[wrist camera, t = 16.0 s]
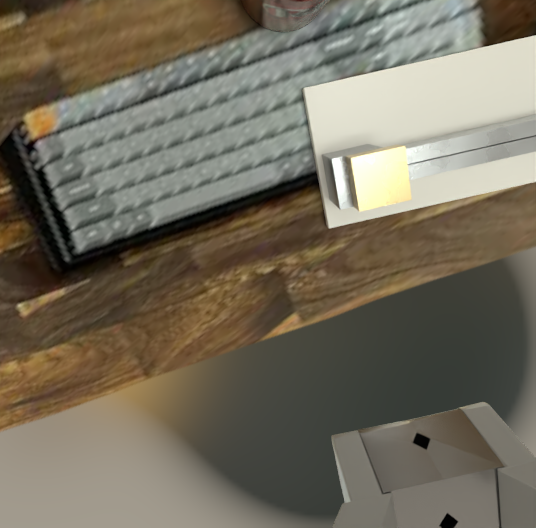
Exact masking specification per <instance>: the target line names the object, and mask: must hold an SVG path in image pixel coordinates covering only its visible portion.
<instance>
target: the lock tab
mask: <svg viewBox="0 0 536 528" xmlns="http://www.w3.org/2000/svg"><path fill="white" fill-rule="evenodd" d="M346 162H347V168H348V175H349V181H350V187H351V193H352V200H353V206H354V208H355V209H357V210H358V211H359V212H360V211H364V210H369V209H373V208H378V207H382V206H386V205H391V204H395V203H400V202H404V201H408V200H412V198H411V190H410V181H409V173H408V165H407V156H406V148H405V146H403V145H392V146H388V147H384V148H379V149H375V150H370V151H366V152H362V153H357V154H353V155H348V156H346Z"/></svg>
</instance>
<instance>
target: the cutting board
mask: <svg viewBox="0 0 536 528" xmlns="http://www.w3.org/2000/svg"><path fill="white" fill-rule="evenodd" d="M302 92H303V98H304V103H305V109H306V114H307V120H308V125H309V131H310V137H311V142H312V148H313V153H314V159H315V164H316V170H317V175H318V181H319V186H320V192H321V198H322V203H323V209H324V214H325V220H326V225H327V227H328V228H333V227H337V226H342V225H346V224H351V223H355V222H360V221H364V220H368V219H373V218H377V217H382V216H386V215H391V214H395V213H399V212H404V211H408V210H413V209H417V208H421V207H426V206H430V205H435V204H439V203H444V202H448V201H452V200H457V199H461V198H466V197H470V196H475V195H479V194H483V193H488V192H492V191H497V190H501V189H506V188H510V187H514V186H519V185H523V184H528V183H532V182H536V152H531V153H527V154H522V155H518V156H514V157H509V158H505V159H500V160H496V161H491V162H487V163H483V164H478V165H474V166H469V167H465V168H461V169H456V170H452V171H447V172H443V173H438V174H434V175H430V176H425V177H421V178H416V179H412V180H409V181H410V190H411V198H412V200H408V201H404V202H400V203H395V204H391V205H386V206H382V207H378V208H373V209H369V210H364V211H360V212H359V211H358V210H357V209H355V208H354V207H350V208H346V209H342V210H340V209H339V208H338V207H337V206H336V205H335V204H333V203H332V202H331V201H330V199H329V193H328V187H327V182H326V176H325V170H324V165H323V159H322V154H326V153H330V152H334V151H339V150H343V149H348V148H352V147H356V146H361V145H365V144H370V145H375V146H379V147H383V148H384V147H388V146H392V145H402V144H407V143H411V142H416V141H420V140H425V139H429V138H433V137H438V136H442V135H447V134H451V133H455V132H460V131H464V130H469V129H473V128H478V127H482V126H486V125H491V124H495V123H500V122H504V121H509V120H513V119H517V118H522V117H526V116H531V115H535V114H536V35H535V36H531V37H526V38H522V39H517V40H513V41H509V42H504V43H500V44H495V45H491V46H487V47H482V48H478V49H473V50H469V51H465V52H460V53H456V54H451V55H447V56H443V57H438V58H434V59H429V60H425V61H421V62H416V63H412V64H408V65H403V66H399V67H394V68H390V69H386V70H381V71H377V72H372V73H368V74H364V75H359V76H355V77H350V78H346V79H342V80H337V81H333V82H328V83H324V84H320V85H315V86H311V87H307V88H303V89H302Z"/></svg>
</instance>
